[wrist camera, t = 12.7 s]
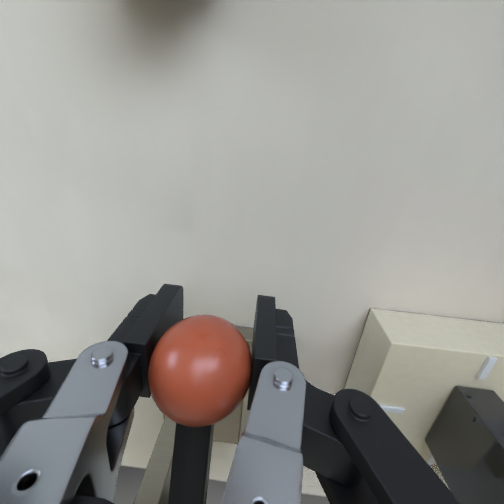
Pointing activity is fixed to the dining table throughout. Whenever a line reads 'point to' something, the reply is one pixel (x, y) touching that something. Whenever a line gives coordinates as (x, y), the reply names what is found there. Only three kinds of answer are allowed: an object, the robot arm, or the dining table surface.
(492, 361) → the panel
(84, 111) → the dining table surface
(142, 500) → the lever bracket
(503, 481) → the black red-tipped box
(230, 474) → the robot arm
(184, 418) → the red ball lever
